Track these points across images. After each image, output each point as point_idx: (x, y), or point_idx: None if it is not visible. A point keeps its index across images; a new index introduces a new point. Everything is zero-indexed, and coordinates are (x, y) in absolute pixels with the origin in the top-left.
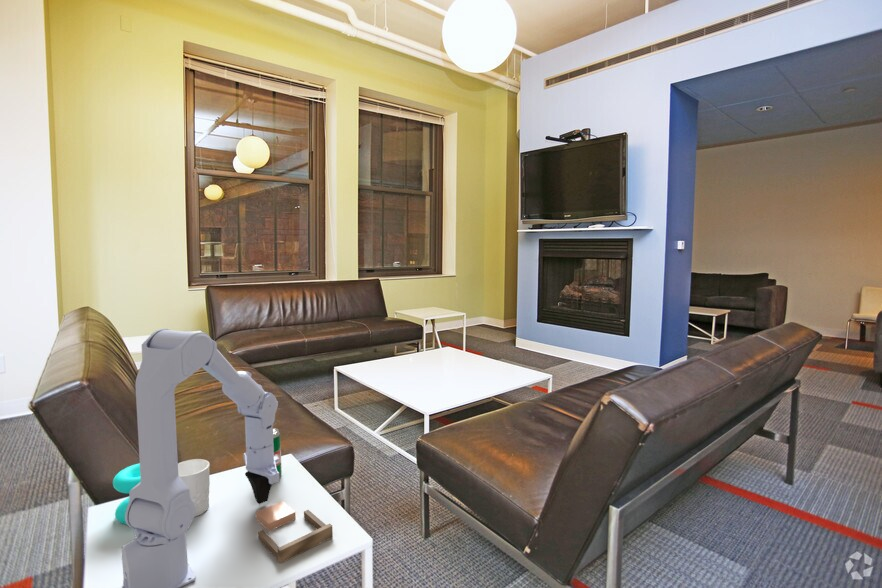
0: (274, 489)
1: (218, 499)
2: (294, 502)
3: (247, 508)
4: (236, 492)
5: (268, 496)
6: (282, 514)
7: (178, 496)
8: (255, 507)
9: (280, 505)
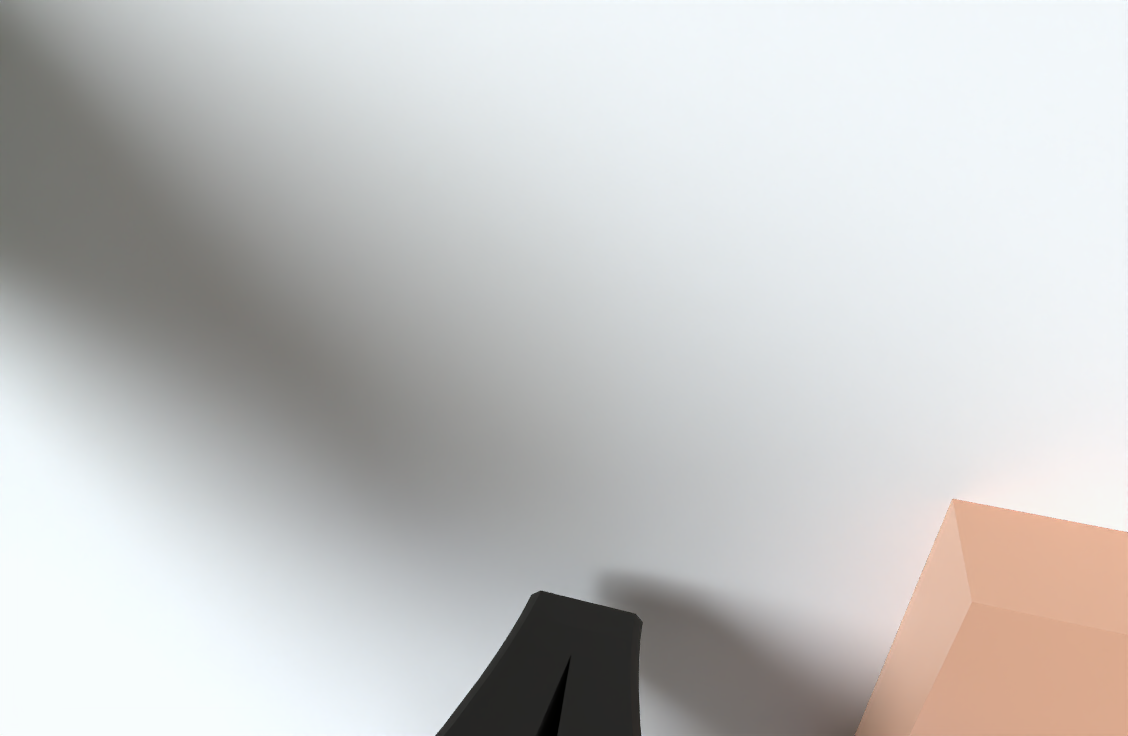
0: (235, 194)
1: (81, 692)
2: (1058, 268)
3: None
4: (16, 538)
5: (637, 676)
6: None
7: None
8: None
9: (1088, 707)
